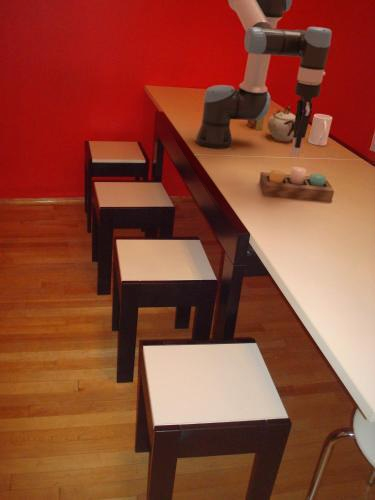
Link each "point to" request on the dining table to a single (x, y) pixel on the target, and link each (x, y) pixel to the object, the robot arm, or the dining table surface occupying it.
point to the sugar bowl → (282, 125)
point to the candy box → (256, 124)
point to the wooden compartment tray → (295, 189)
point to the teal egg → (317, 180)
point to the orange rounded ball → (276, 176)
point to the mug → (320, 129)
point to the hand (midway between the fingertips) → (294, 156)
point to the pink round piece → (297, 175)
